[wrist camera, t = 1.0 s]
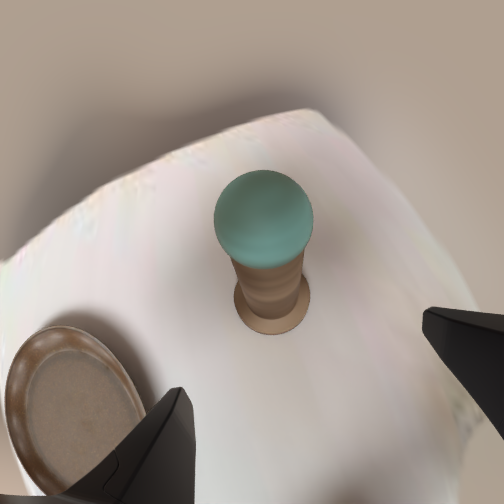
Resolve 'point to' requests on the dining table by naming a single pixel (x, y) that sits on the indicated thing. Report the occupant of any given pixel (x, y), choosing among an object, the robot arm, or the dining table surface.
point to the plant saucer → (67, 405)
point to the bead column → (266, 248)
